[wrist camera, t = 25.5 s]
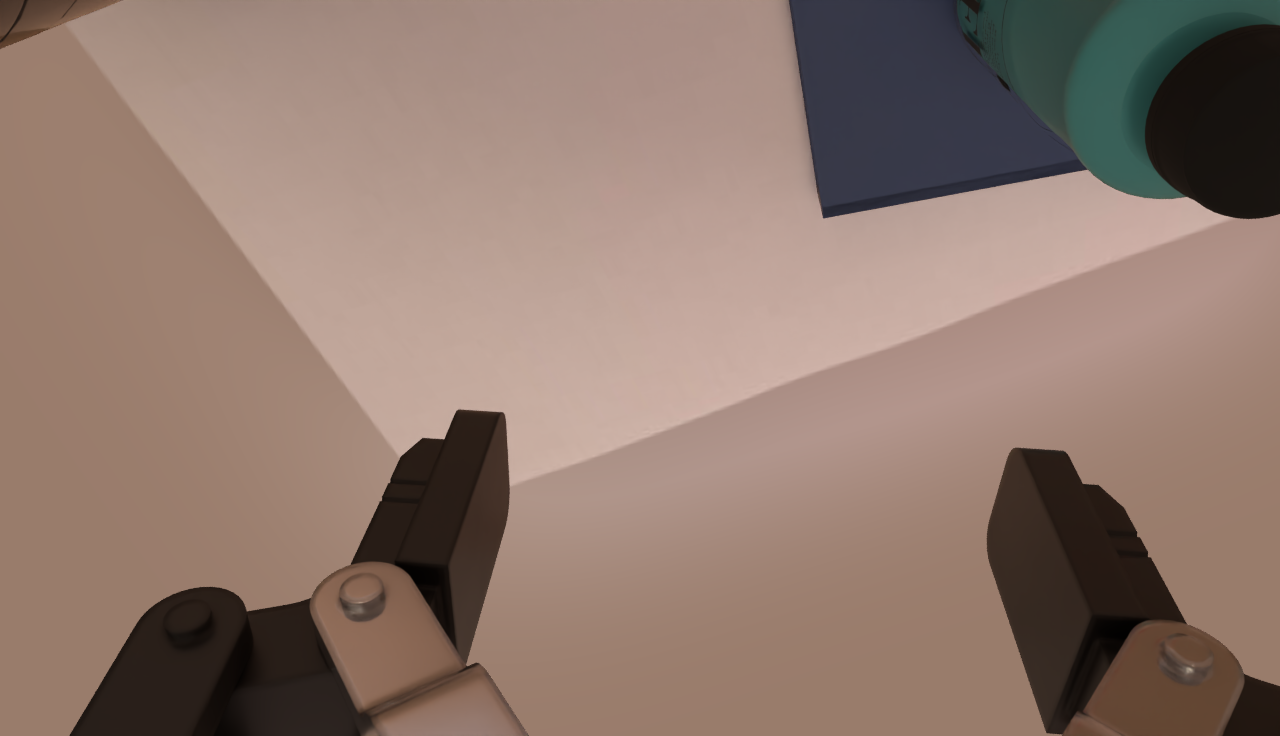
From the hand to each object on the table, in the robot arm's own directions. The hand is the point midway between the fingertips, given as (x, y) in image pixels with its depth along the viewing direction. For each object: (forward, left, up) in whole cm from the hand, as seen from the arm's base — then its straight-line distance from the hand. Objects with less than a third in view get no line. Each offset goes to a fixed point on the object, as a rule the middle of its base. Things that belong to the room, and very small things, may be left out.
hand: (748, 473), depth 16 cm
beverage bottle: (+11, +3, -29) cm, 32 cm away
